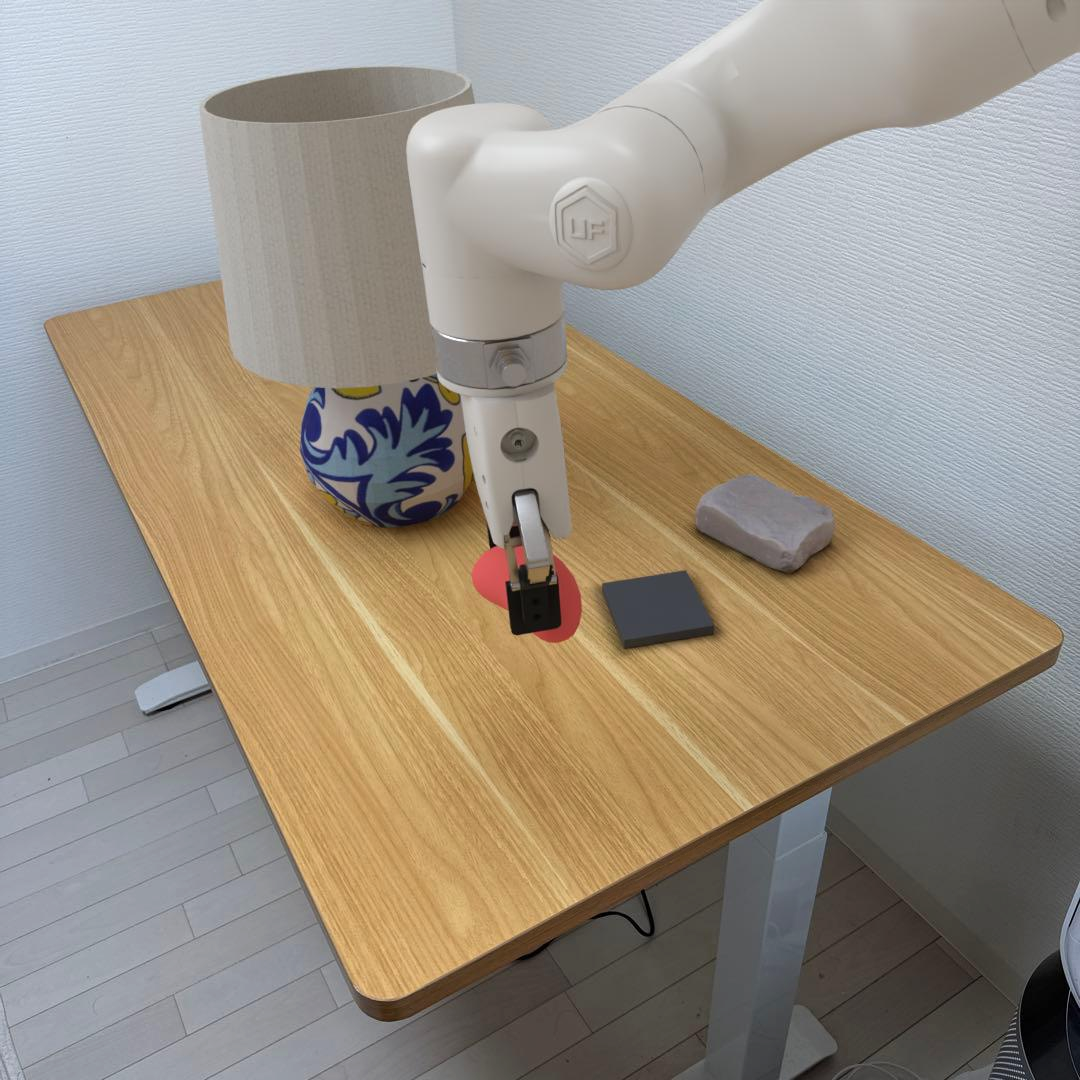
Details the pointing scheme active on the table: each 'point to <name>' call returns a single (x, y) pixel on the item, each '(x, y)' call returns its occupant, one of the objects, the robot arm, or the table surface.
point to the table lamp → (339, 277)
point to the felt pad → (656, 609)
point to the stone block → (765, 521)
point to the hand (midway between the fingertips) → (523, 585)
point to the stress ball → (494, 573)
